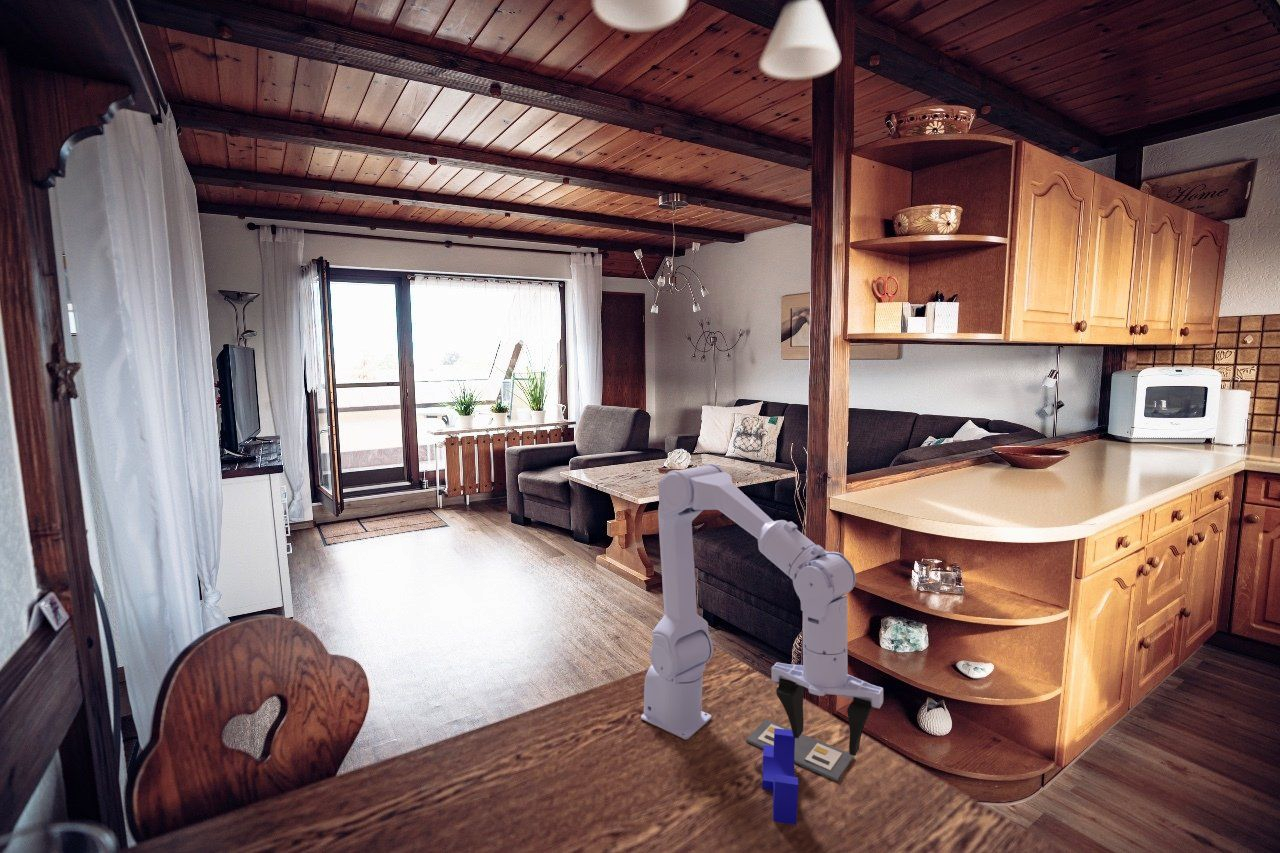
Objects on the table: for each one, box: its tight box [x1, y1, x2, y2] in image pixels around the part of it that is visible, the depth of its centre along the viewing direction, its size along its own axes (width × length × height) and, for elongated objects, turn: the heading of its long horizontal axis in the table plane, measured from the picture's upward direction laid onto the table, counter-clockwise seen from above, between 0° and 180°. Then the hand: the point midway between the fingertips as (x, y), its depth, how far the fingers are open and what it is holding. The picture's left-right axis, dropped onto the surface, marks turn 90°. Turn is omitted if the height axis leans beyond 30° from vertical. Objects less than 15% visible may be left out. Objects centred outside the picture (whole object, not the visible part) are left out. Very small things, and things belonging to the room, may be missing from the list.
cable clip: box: [761, 728, 799, 826], centre depth 91 cm, size 12×4×6 cm, turn 169°
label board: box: [745, 718, 855, 783], centre depth 100 cm, size 15×7×1 cm, turn 53°
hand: (825, 742), depth 86 cm, fingers open, 7 cm apart
